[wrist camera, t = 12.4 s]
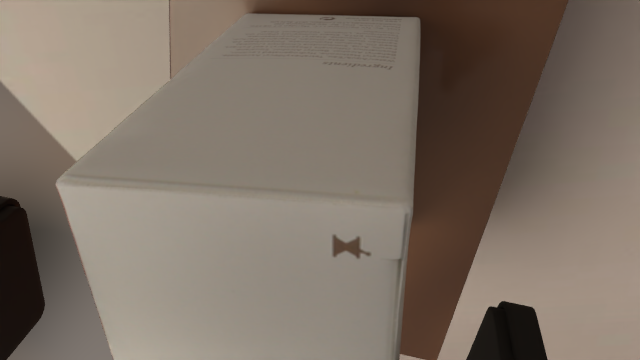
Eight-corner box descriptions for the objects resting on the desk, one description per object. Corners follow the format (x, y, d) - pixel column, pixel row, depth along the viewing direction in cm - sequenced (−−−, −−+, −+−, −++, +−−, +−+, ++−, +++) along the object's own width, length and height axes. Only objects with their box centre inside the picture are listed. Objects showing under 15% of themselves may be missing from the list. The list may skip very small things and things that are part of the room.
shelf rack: (245, 180, 34) (173, 301, 24) (272, -209, 23) (164, -259, 14) (435, 220, 33) (436, 362, 23) (551, -168, 22) (639, -192, 13)
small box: (245, 8, 17) (39, 168, 8) (425, 12, 16) (417, 198, 7) (263, 217, 21) (139, 479, 12) (407, 230, 20) (388, 523, 11)
